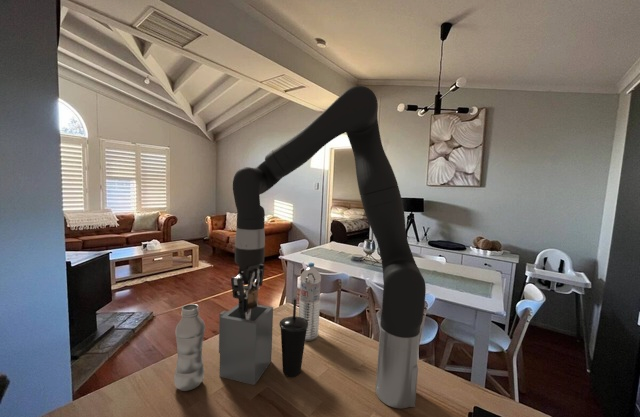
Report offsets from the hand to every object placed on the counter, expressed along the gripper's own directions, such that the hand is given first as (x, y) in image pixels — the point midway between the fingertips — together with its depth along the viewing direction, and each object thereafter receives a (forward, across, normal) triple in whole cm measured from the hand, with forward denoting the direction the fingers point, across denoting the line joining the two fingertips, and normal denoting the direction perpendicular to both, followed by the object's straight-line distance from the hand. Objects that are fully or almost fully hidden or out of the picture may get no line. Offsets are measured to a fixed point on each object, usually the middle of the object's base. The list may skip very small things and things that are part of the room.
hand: (248, 307), depth 75 cm
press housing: (+17, 0, +2) cm, 17 cm away
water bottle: (+17, +21, -11) cm, 29 cm away
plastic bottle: (+18, -10, +10) cm, 23 cm away
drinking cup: (+17, +3, -12) cm, 21 cm away
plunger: (+16, 0, 0) cm, 16 cm away
